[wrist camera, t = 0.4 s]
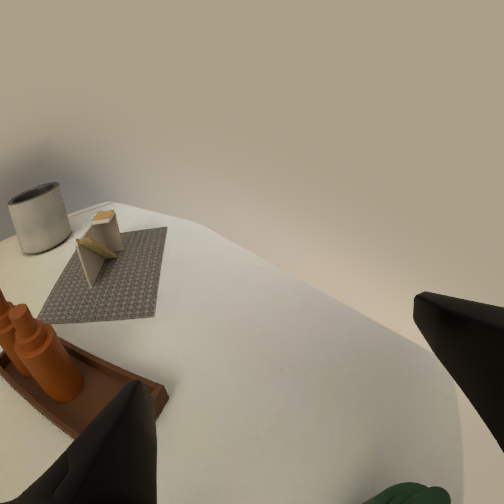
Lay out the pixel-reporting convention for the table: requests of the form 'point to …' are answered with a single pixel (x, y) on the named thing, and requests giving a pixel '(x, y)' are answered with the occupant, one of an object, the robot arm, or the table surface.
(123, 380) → the tray
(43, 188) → the planter
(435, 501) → the green bottle
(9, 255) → the table surface
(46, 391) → the amber bottle middle
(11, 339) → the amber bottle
